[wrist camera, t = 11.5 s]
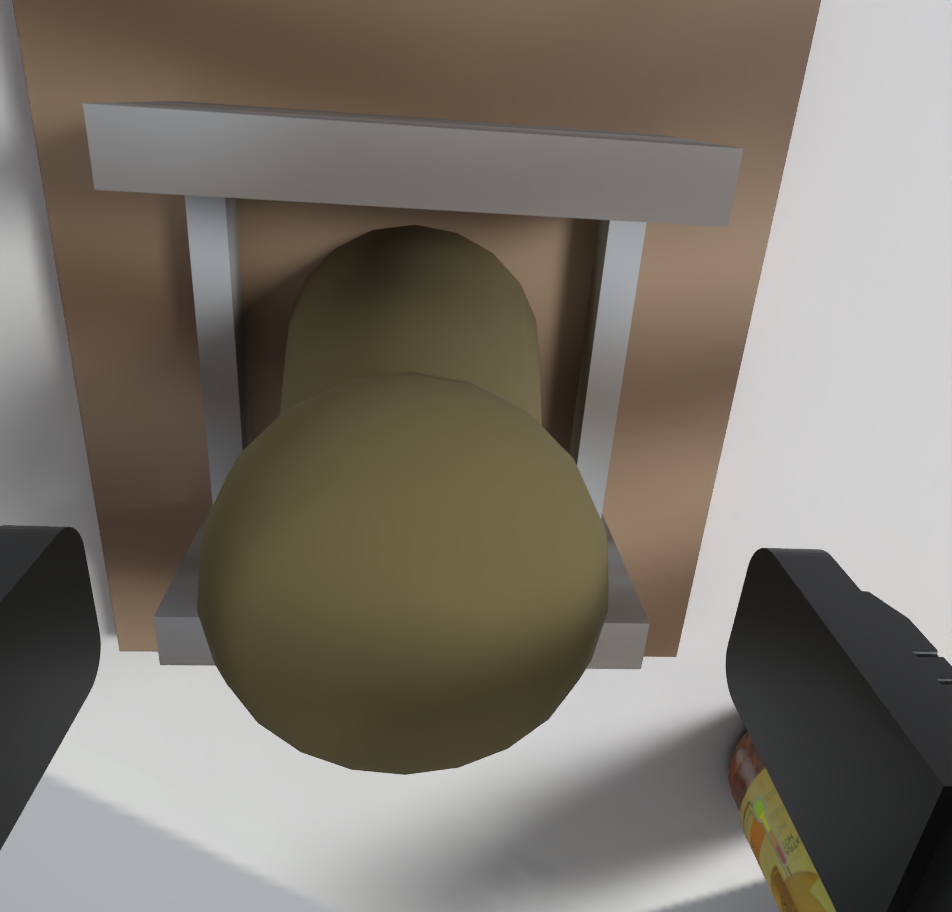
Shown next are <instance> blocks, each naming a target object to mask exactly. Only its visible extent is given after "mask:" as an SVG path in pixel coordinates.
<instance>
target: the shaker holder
mask: <svg viewBox="0 0 952 912" xmlns="http://www.w3.org/2000/svg"><path fill="white" fill-rule="evenodd" d="M820 3H821V0H13V6H14V13H15V19H16V25H17V31H18V37H19V43H20V49H21V55H22V61H23V67H24V73H25V79H26V85H27V92H28V98H29V104H30V110H31V116H32V122H33V128H34V134H35V140H36V146H37V152H38V158H39V164H40V171H41V177H42V183H43V189H44V195H45V201H46V207H47V213H48V219H49V225H50V231H51V237H52V243H53V250H54V256H55V262H56V268H57V274H58V280H59V286H60V292H61V298H62V304H63V310H64V316H65V322H66V328H67V335H68V341H69V347H70V353H71V359H72V365H73V371H74V377H75V383H76V389H77V395H78V401H79V407H80V414H81V420H82V426H83V432H84V438H85V444H86V450H87V456H88V462H89V468H90V474H91V480H92V486H93V493H94V499H95V505H96V511H97V517H98V523H99V529H100V535H101V541H102V547H103V553H104V559H105V565H106V572H107V578H108V584H109V590H110V596H111V602H112V608H113V614H114V620H115V626H116V632H117V638H118V644H119V651H155V652H158V653H159V660H160V665H215V663H214V661H213V658H212V655H211V652H210V649H209V646H208V643H207V640H206V637H205V634H204V631H203V628H202V625H201V622H200V619H199V616H198V613H197V597H198V575H199V559H200V543H201V529H202V527H203V525H204V523H205V521H206V519H207V517H208V514H209V512H210V510H211V508H212V506H213V504H214V502H215V500H216V498H217V496H218V494H219V492H220V490H221V487H222V485H223V483H224V481H225V479H226V477H227V475H228V473H229V471H230V470H231V468H232V466H233V464H234V462H235V461H236V459H237V457H238V455H239V454H240V453H241V452H242V451H243V450H244V449H245V448H246V447H247V446H248V445H249V444H250V443H252V442H253V441H254V440H255V439H256V438H257V437H258V436H259V435H260V434H261V433H262V432H263V431H264V430H265V429H266V428H267V427H268V426H269V425H270V424H271V423H272V422H274V421H275V420H276V419H277V418H278V417H279V416H280V408H281V397H282V387H283V376H284V365H285V355H286V345H287V335H288V326H289V316H290V312H291V310H292V308H293V305H294V303H295V301H296V299H297V297H298V295H299V293H300V291H301V289H302V286H303V284H304V282H305V280H306V278H307V277H308V276H309V275H310V274H311V273H312V272H313V271H314V270H315V269H316V268H317V267H318V266H319V265H320V264H321V263H322V262H323V260H324V259H325V258H326V257H327V256H328V255H329V254H330V253H331V252H332V251H333V250H334V249H335V248H337V247H339V246H341V245H343V244H345V243H347V242H349V241H352V240H354V239H356V238H358V237H360V236H362V235H364V234H366V233H368V232H370V231H372V230H376V229H384V228H392V227H400V226H407V225H415V224H416V225H421V226H426V227H431V228H436V229H441V230H446V231H451V232H456V233H459V234H460V235H462V236H464V237H466V238H467V239H469V240H471V241H473V242H474V243H476V244H478V245H480V246H481V247H483V248H485V249H487V250H488V251H490V252H492V253H494V254H495V256H496V257H497V258H498V259H499V260H500V261H501V262H502V263H503V265H504V266H505V267H506V268H507V269H508V270H509V271H510V272H511V273H512V275H513V276H514V277H515V278H516V279H517V280H518V281H519V282H520V283H521V285H522V288H523V290H524V292H525V295H526V297H527V299H528V302H529V304H530V306H531V309H532V311H533V313H534V316H535V318H536V322H537V335H538V347H539V362H540V390H541V419H542V427H543V428H544V429H545V430H546V431H547V432H548V433H549V434H550V435H551V436H552V437H553V438H554V439H555V440H556V441H557V442H558V443H559V444H560V445H561V446H562V447H563V448H564V449H565V450H566V451H567V452H568V453H569V455H570V456H571V457H572V458H573V459H574V460H575V463H576V465H577V467H578V469H579V471H580V474H581V476H582V478H583V480H584V482H585V485H586V487H587V489H588V491H589V494H590V496H591V498H592V500H593V503H594V505H595V507H596V509H597V512H598V514H599V516H600V518H601V521H602V523H603V525H604V527H605V530H606V534H607V556H608V578H609V596H608V612H607V615H606V618H605V621H604V624H603V627H602V630H601V633H600V636H599V639H598V642H597V645H596V648H595V651H594V654H593V657H592V660H591V662H590V663H589V665H588V666H587V668H586V669H641V665H642V660H643V656H650V657H676V655H677V651H678V646H679V642H680V637H681V633H682V628H683V624H684V619H685V615H686V610H687V605H688V601H689V596H690V592H691V587H692V583H693V578H694V574H695V569H696V565H697V560H698V556H699V551H700V547H701V542H702V537H703V533H704V528H705V524H706V519H707V515H708V510H709V506H710V501H711V497H712V492H713V488H714V483H715V479H716V474H717V470H718V465H719V460H720V456H721V451H722V447H723V442H724V438H725V433H726V429H727V424H728V420H729V415H730V411H731V406H732V402H733V397H734V392H735V388H736V383H737V379H738V374H739V370H740V365H741V361H742V356H743V352H744V347H745V343H746V338H747V334H748V329H749V325H750V320H751V315H752V311H753V306H754V302H755V297H756V293H757V288H758V284H759V279H760V275H761V270H762V266H763V261H764V257H765V252H766V247H767V243H768V238H769V234H770V229H771V225H772V220H773V216H774V211H775V207H776V202H777V198H778V193H779V189H780V184H781V180H782V175H783V170H784V166H785V161H786V157H787V152H788V148H789V143H790V139H791V134H792V130H793V125H794V121H795V116H796V112H797V107H798V102H799V98H800V93H801V89H802V84H803V80H804V75H805V71H806V66H807V62H808V57H809V53H810V48H811V44H812V39H813V34H814V30H815V25H816V21H817V16H818V12H819V7H820Z"/></svg>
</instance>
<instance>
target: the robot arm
mask: <svg viewBox="0 0 952 912" xmlns="http://www.w3.org/2000/svg"><path fill="white" fill-rule="evenodd" d="M100 649H101V642H100V632H99V626H98V621H97V615H96V610H95V604H94V599H93V593H92V588H91V582H90V577H89V571H88V566H87V560H86V555H85V549H84V545H83V541H82V538H81V536H80V534H79V533H78V532H77V530H76V529H74V528H72V527H50V526H14V525H3V526H0V850H1V848H2V846H3V845H4V843H5V841H6V839H7V838H8V836H9V834H10V832H11V830H12V829H13V827H14V825H15V823H16V822H17V820H18V818H19V816H20V815H21V813H22V811H23V809H24V807H25V806H26V804H27V802H28V800H29V799H30V797H31V795H32V793H33V792H34V790H35V788H36V786H37V784H38V783H39V781H40V779H41V777H42V776H43V774H44V772H45V770H46V769H47V767H48V765H49V763H50V762H51V760H52V758H53V756H54V754H55V753H56V751H57V749H58V747H59V746H60V744H61V742H62V740H63V739H64V737H65V735H66V733H67V731H68V730H69V728H70V726H71V724H72V723H73V721H74V719H75V717H76V716H77V714H78V712H79V710H80V708H81V707H82V705H83V703H84V701H85V700H86V698H87V696H88V694H89V692H90V690H91V688H92V686H93V684H94V681H95V678H96V675H97V671H98V666H99V660H100ZM726 677H727V683H728V688H729V692H730V695H731V698H732V700H733V703H734V705H735V707H736V709H737V711H738V713H739V715H740V717H741V719H742V721H743V723H744V725H745V727H746V729H747V731H748V733H749V735H750V737H751V739H752V741H753V743H754V745H755V747H756V749H757V751H758V753H759V756H760V758H761V760H762V762H763V764H764V766H765V768H766V770H767V772H768V774H769V776H770V778H771V780H772V782H773V784H774V786H775V788H776V790H777V792H778V794H779V796H780V798H781V800H782V802H783V804H784V806H785V808H786V810H787V812H788V814H789V816H790V819H791V821H792V823H793V825H794V827H795V829H796V831H797V833H798V835H799V837H800V839H801V841H802V843H803V845H804V847H805V849H806V851H807V853H808V855H809V857H810V859H811V861H812V863H813V865H814V867H815V869H816V871H817V873H818V875H819V877H820V879H821V882H822V884H823V886H824V888H825V890H826V892H827V894H828V896H829V898H830V900H831V902H832V904H833V906H834V908H835V910H836V912H952V666H951V665H950V664H949V663H948V662H947V661H946V659H945V658H944V657H938V655H937V649H936V648H935V647H934V646H933V645H932V644H931V643H930V642H929V641H928V639H927V638H926V637H925V636H924V635H923V634H922V633H921V632H920V631H919V629H918V628H917V627H916V626H915V625H914V624H913V623H912V622H911V621H910V620H909V619H908V618H907V617H905V616H904V615H902V614H901V613H899V612H898V611H896V610H895V609H893V608H892V607H890V606H889V605H887V604H886V603H884V602H883V601H882V600H880V599H879V598H877V597H876V596H874V595H873V594H871V593H870V592H865V591H861V590H860V589H859V588H858V587H857V585H856V584H855V583H854V582H853V581H852V580H851V578H850V577H849V576H848V575H847V574H846V573H845V571H844V570H843V569H842V568H841V567H840V566H839V564H838V563H837V562H836V561H835V560H834V559H833V557H832V556H831V555H830V554H829V553H827V552H826V551H824V550H817V549H780V548H761V549H759V550H757V551H756V552H755V553H754V555H753V556H752V558H751V560H750V563H749V566H748V569H747V573H746V577H745V581H744V585H743V589H742V593H741V597H740V600H739V604H738V608H737V612H736V616H735V620H734V624H733V627H732V631H731V635H730V639H729V643H728V647H727V653H726Z"/></svg>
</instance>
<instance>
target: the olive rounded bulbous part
mask: <svg viewBox="0 0 952 912" xmlns="http://www.w3.org/2000/svg"><path fill="white" fill-rule="evenodd" d="M608 596H609V578H608V556H607V534H606V530H605V527H604V525H603V523H602V521H601V518H600V516H599V514H598V512H597V509H596V507H595V505H594V503H593V500H592V498H591V496H590V494H589V491H588V489H587V487H586V485H585V482H584V480H583V478H582V476H581V474H580V471H579V469H578V467H577V465H576V463H575V460H574V459H573V458H572V457H571V456H570V455H569V453H568V452H567V451H566V450H565V449H564V448H563V447H562V446H561V445H560V444H559V443H558V442H557V441H556V440H555V439H554V438H553V437H552V436H551V435H550V434H549V433H548V432H547V431H546V430H545V429H544V428H543V427H542V419H541V390H540V362H539V347H538V335H537V322H536V318H535V316H534V313H533V311H532V309H531V306H530V304H529V302H528V299H527V297H526V295H525V292H524V290H523V288H522V285H521V283H520V282H519V281H518V280H517V279H516V278H515V277H514V276H513V275H512V273H511V272H510V271H509V270H508V269H507V268H506V267H505V266H504V265H503V263H502V262H501V261H500V260H499V259H498V258H497V257H496V256H495V254H494V253H492V252H490V251H488V250H487V249H485V248H483V247H481V246H480V245H478V244H476V243H474V242H473V241H471V240H469V239H467V238H466V237H464V236H462V235H460V234H459V233H456V232H451V231H446V230H441V229H436V228H431V227H426V226H421V225H416V224H415V225H407V226H400V227H392V228H384V229H376V230H372V231H370V232H368V233H366V234H364V235H362V236H360V237H358V238H356V239H354V240H352V241H349V242H347V243H345V244H343V245H341V246H339V247H337V248H335V249H334V250H333V251H332V252H331V253H330V254H329V255H328V256H327V257H326V258H325V259H324V260H323V262H322V263H321V264H320V265H319V266H318V267H317V268H316V269H315V270H314V271H313V272H312V273H311V274H310V275H309V276H308V277H307V278H306V280H305V282H304V284H303V286H302V289H301V291H300V293H299V295H298V297H297V299H296V301H295V303H294V305H293V308H292V310H291V312H290V316H289V326H288V335H287V345H286V355H285V365H284V376H283V387H282V397H281V408H280V416H279V417H278V418H277V419H276V420H275V421H274V422H272V423H271V424H270V425H269V426H268V427H267V428H266V429H265V430H264V431H263V432H262V433H261V434H260V435H259V436H258V437H257V438H256V439H255V440H254V441H253V442H252V443H250V444H249V445H248V446H247V447H246V448H245V449H244V450H243V451H242V452H241V453H240V454H239V455H238V457H237V459H236V461H235V462H234V464H233V466H232V468H231V470H230V471H229V473H228V475H227V477H226V479H225V481H224V483H223V485H222V487H221V490H220V492H219V494H218V496H217V498H216V500H215V502H214V504H213V506H212V508H211V510H210V512H209V514H208V517H207V519H206V521H205V523H204V525H203V527H202V529H201V543H200V559H199V575H198V597H197V613H198V616H199V619H200V622H201V625H202V628H203V631H204V634H205V637H206V640H207V643H208V646H209V649H210V652H211V655H212V658H213V661H214V663H215V665H216V667H217V668H218V670H219V672H220V673H221V675H222V677H223V678H224V680H225V682H226V683H227V685H228V686H229V687H230V688H231V690H232V691H233V692H234V694H235V695H236V696H237V697H238V699H239V700H240V701H241V702H242V704H243V705H244V706H245V707H246V709H247V710H248V711H249V712H250V714H251V715H252V716H253V717H254V719H255V720H256V721H257V722H258V723H259V724H260V725H262V726H263V727H265V728H266V729H268V730H269V731H271V732H272V733H274V734H275V735H276V736H278V737H279V738H281V739H282V740H284V741H285V742H287V743H288V744H290V745H291V746H293V747H294V748H296V749H297V750H299V751H300V752H302V753H305V754H308V755H311V756H314V757H317V758H320V759H323V760H325V761H328V762H331V763H334V764H337V765H340V766H343V767H346V768H349V769H352V770H362V771H373V772H383V773H394V774H404V775H406V774H413V773H421V772H428V771H436V770H443V769H451V768H458V767H461V766H464V765H466V764H469V763H471V762H474V761H477V760H479V759H482V758H484V757H487V756H490V755H492V754H495V753H497V752H500V751H503V750H505V749H508V748H509V747H511V746H512V745H513V744H515V743H516V742H517V741H519V740H520V739H522V738H523V737H524V736H526V735H527V734H529V733H530V732H531V731H533V730H534V729H536V728H537V727H538V726H540V725H541V724H543V723H544V722H545V721H547V720H548V719H549V718H550V717H551V716H552V714H553V713H554V712H555V710H556V709H557V708H558V706H559V705H560V704H561V703H562V701H563V700H564V699H565V697H566V696H567V695H568V693H569V692H570V691H571V690H572V688H573V687H574V686H575V684H576V683H577V682H578V680H579V679H580V677H581V676H582V674H583V673H584V671H585V669H586V668H587V666H588V665H589V663H590V662H591V660H592V657H593V654H594V651H595V648H596V645H597V642H598V639H599V636H600V633H601V630H602V627H603V624H604V621H605V618H606V615H607V612H608Z"/></svg>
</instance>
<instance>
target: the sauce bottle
mask: <svg viewBox="0 0 952 912" xmlns="http://www.w3.org/2000/svg"><path fill="white" fill-rule="evenodd" d="M729 781H730V786H731V790H732V795H733V797H734V800H735V802H736V804H737V808H738V810H739V811H740V813H741V825H742V828H743V831H744V833H745V836H746V838H747V840H748V842H749V844H750V846H751V849H752V851H753V853H754V855H755V857H756V859H757V861H758V864H759V866H760V868H761V870H762V873H763V875H764V877H765V879H766V882H767V884H768V886H769V888H770V890H771V892H772V894H773V897H774V899H775V901H776V903H777V905H778V907H779V909H780V911H781V912H836V910H835V908H834V906H833V904H832V902H831V900H830V898H829V896H828V894H827V892H826V890H825V888H824V886H823V884H822V882H821V879H820V877H819V875H818V873H817V871H816V869H815V867H814V865H813V863H812V861H811V859H810V857H809V855H808V853H807V851H806V849H805V847H804V845H803V843H802V841H801V839H800V837H799V835H798V833H797V831H796V829H795V827H794V825H793V823H792V821H791V819H790V816H789V814H788V812H787V810H786V808H785V806H784V804H783V802H782V800H781V798H780V796H779V794H778V792H777V790H776V788H775V786H774V784H773V782H772V780H771V778H770V776H769V774H768V772H767V770H766V768H765V766H764V764H763V762H762V760H761V758H760V756H759V753H758V751H757V749H756V747H755V745H754V743H753V741H752V739H751V737H750V735H749V733H748V731H747V732H746V733H745V734H744V735H743V736H742V737H741V739H740V740H739V741H738V743H737V745H736V747H735V749H734V753H733V754H732V757H731V761H730V765H729Z"/></svg>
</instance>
